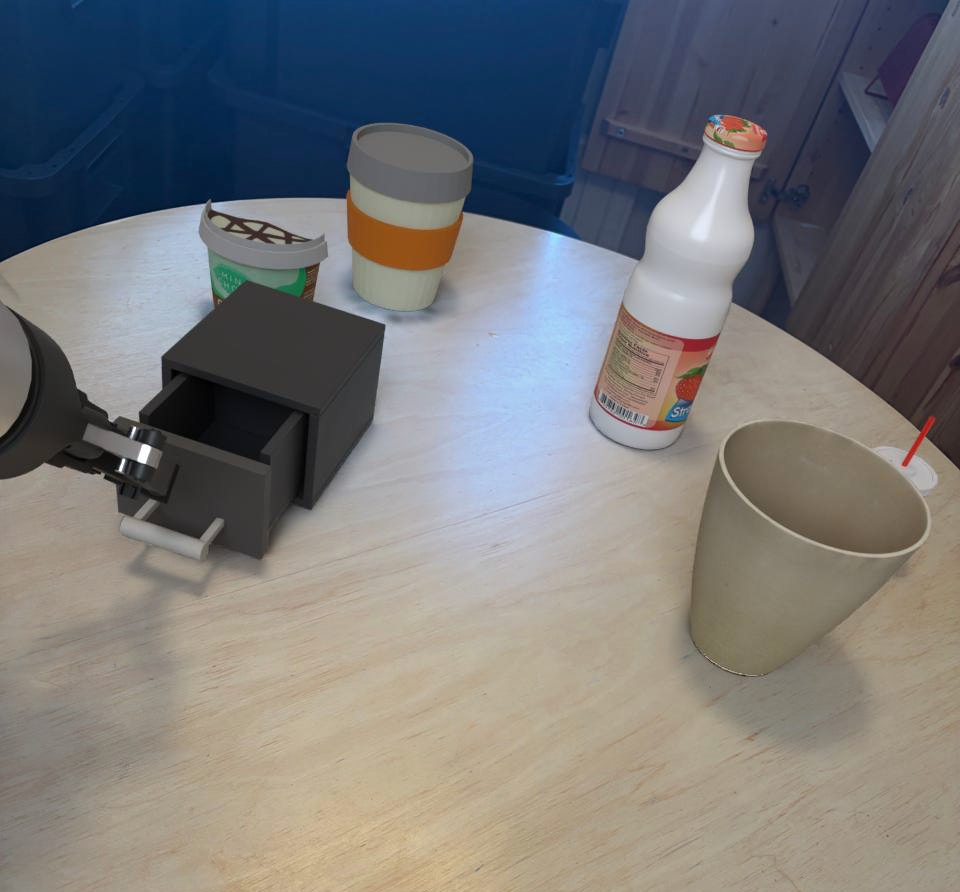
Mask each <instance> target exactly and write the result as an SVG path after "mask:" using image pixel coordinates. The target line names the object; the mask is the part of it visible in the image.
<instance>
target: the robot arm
mask: <svg viewBox="0 0 960 892" xmlns="http://www.w3.org/2000/svg"><path fill="white" fill-rule="evenodd" d="M117 426H118V424H116V423H115V424H114V423H113V421H110V419H109V413H108V411H106V410H105V409H103V408H102V407H100V406H98V405H96V404H95V403H93V402H92V401H90V400H89V397H88V394H87V393H86V392H85V391H83V390H81V389H80V388H78V386H77V382H76V379H75V375H74V371H73V368H72V366H71V363H70V360H69V359H68V357H67V355H66V354H65V352H64V351H63V349H62V347H61V346H60V345H59V344H58V343H57V341H55V340H54V338H52V337H51V336H50V335H49V334H48V333H47V332H46V331H44V330H43V329H42V328H40V327H38V325H35V324H34V323H33V322H32V321H30V320H28V319H27V318H25V317H24V316H23V315H21V314H20V313H18V312H17V311H15V310H14V309H12V308H11V307H10V306H9V305H6V304H5V303H4V302H3V301H2V299H0V481H3V480H10V479H14V478H18V477H21V476H24V475H27V474H29V473H31V472H33V471H35V470H36V469H38V468H39V467H41V466H43V464H46V465H49V466H52V467H56V468H58V469H63V468H66V469H67V468H68V469H70V470H74V471H76V472H80V473H82V474H89V475H90V476H91V475H92V476H94V475H99V476H101V475H102V474H103V477H102V478H103V480H105V481H108V482H110V483H112V484H114V485H115V486H116V485H119V486H120V488H119V491H118V494H119V495H122V496H125V497H128V498H131V499H134V500H138V497H139V495H142V496H144V497H146V498H149V499H152V500H155V501H158V502H161V503H164V504H167V503H168V500H169V497H170V494H171V491H172V488H173V485H174V482H175V479H176V477H177V474H178V471H179V468H180V465H178V464H176V463H177V460H178V457H179V456H178V455H177V454H176V453H175V452H174V451H173V450H172V449H171V448H170V447H169V446H168V445H167V444H166V441H167V438H168V437H166V436H164V435H163V434H161V433H162V432H161V431H159V430H156V429H153V428H152V429H150V430H149V429H145V428H143V429H140V428H137V427H135V426H130V427H129V430H128V433H127V434H126V433H124V432H123V431H121V430H119V429H117Z"/></svg>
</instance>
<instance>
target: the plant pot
mask: <svg viewBox="0 0 960 892" xmlns="http://www.w3.org/2000/svg"><path fill="white" fill-rule="evenodd" d="M932 525H933V519H932V514H931V510H930V507H929V505H928V503H927V500H926V498H925V496H924V497H923V495H922V494H921V492H920V491H919V489H918V488H917V487H916V485H915V484H914V483H913V482H912V481H911V480H910V479H909V478H908V476H907V475H906V474H904V473H903V472H902V471H901V470H900V469H899V468H898V467H897V466H895V465H894V464H893V463H892V462H890V461H889V460H888V459H886V458H885V457H883V456H882V455H881V454H879V453H878V452H876V451H874V450H873V448H871V447H869V446H868V445H866V444H864V443H862V442H861V441H858V440H857V439H855V438H852V437H851V436H848V435H846V434H844V433H841V432H840V431H837V430H834V429H831V428H829V427H826V426H823V425H820V424H816V423H812V422H808V421H804V420H798V419H791V418H789V419H788V418H782V417H781V418H778V417H777V418H776V417H775V418H773V417H770V418H768V417H767V418H758V419H752V420H748V421H746V422H742V423H740V424H739V425H735V426H734V427H733V428H731V429H730V430H728V432H727V433H726V434H725V435H724V436H723V438H722V440H721V442H720V444H719V448H718V450H717V455H716V458H715V462H714V465H713V468H712V472H711V476H710V480H709V483H708V487H707V489H706V495H705V499H704V502H703V507H702V511H701V516H700V520H699V527H698V531H697V538H696V544H695V549H694V550H695V551H694V557H693V566H692V574H691V590H690V592H691V593H690V617H689V618H690V636H691V635H692V636H691V638H693V639H692V641H693V640H694V642H695V644H696V645H697V647H698V648H699V650H701V651H702V653H703V654H705V656H707V657H708V658H709V659H710V660H712V661H713V662H715V663H717V664H718V665H720V666H721V667H724V668H726V669H728V670H731V671H734V672H737V673H742V674H747V675H761V674H766V673H768V674H770V673H772V672H774V671H775V670H777V669H779V668H780V667H782V666H783V665H785V664H787V663H788V662H790V661H792V660H793V659H795V658H796V657H797V656H799V655H800V654H802V653H803V652H806V651H807V650H808V649H809V648H811V647H812V646H814V645H815V644H816V643H818V642H819V641H820V640H822V639H823V638H825V637H826V636H827V635H828V634H830V633H831V632H832V631H834V630H835V629H836V628H837V627H839V626H840V625H841V624H842V623H844V622H845V621H846V620H847V619H848V618H849V617H851V616H852V615H853V614H854V613H856V611H857V610H859V609H860V608H862V606H863V605H865V603H867V602H868V601H869V600H870V599H871V598H872V597H873V596H874V595H875V594H877V592H879V591H880V590H881V588H883V586H885V585H886V584H887V583H888V582H889V580H891V579H892V577H894V575H895V574H896V573H897V572H898V571H900V569H901V568H902V567H903V566H904V565H905V564H906V563H907V562H908V561H909V560H910V559H911V558H912V557H913V556H914V555H915V553H916V552H917V551H919V550H920V548H921V547H922V546H923V545H924V544H925V542H926V541H927V540H928V538H929V536H930V534H931V532H932ZM694 642H693V643H694ZM695 644H694V645H695ZM696 645H695V646H696ZM697 647H696V648H697ZM698 648H697V649H698ZM699 650H698V651H699ZM769 672H770V673H769ZM766 675H767V674H766Z"/></svg>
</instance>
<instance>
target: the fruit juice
mask: <svg viewBox="0 0 960 892" xmlns="http://www.w3.org/2000/svg"><path fill="white" fill-rule="evenodd" d="M767 138H768V133H767V131H766V130H765V129H764V128H763V127H762V126H760V125H759V124H757V123H754V122H753V121H750V120H747V119H744V118H742V117H738V116H733V115H728V114H715V115H714V114H713V115H711V116H710V117H709V119H708V120H707V122H706V124H705V127H704V130H703V135H702V142H703V147H702V149H701V152H700V154H699V156H698V158H697V160H696V162H695V163H694V165H693V166H692V168H691V169H690V171H689V172H688V174H687V175H686V176H685V178H684V179H683V181H682V182H681V183H680V184H679V185H678V186H677V187H675V189H673V190H672V191H670V192H669V193H668V194H666V195H665V196H664V197H663V198H662V199H661V200H660V201H659V202H658V203H657V204H656V205H655V207H654V208H653V210H652V211H651V212H652V213H650V217H649V219H648V222H647V225H646V231H645V241H644V243H645V244H644V253H643V256H642V257H641V259H640V260H639V261H638V262H636V264H635V266H634V268H633V269H632V271H631V274H630V277H629V279H628V281H627V285H626V287H625V290H624V292H623V296H622V300H621V303H620V307H619V309H618V313H617V316H616V318H615V319H616V320H615V322H614V326H613V329H612V331H611V335H610V338H609V341H608V345H607V348H606V350H605V354H604V357H603V361H602V364H601V367H600V371H599V374H598V377H597V380H596V384H595V387H594V390H593V393H592V396H591V400H590V405H589V414H590V419H591V421H592V423H593V425H594V426H595V427H596V428H597V429H598V430H599V432H601V433H602V434H603V435H604V436H606V437H607V438H609V439H611V440H612V441H614V442H617V443H619V444H621V445H623V446H626V447H630V448H634V449H639V450H651V451H652V450H660V449H661V450H662V449H664V448H667V447H669V446H671V445H672V444H674V443H675V442H676V441H677V440H678V439H679V437H680V435H681V433H682V431H683V430H684V428H685V425H686V423H687V420H688V417H689V414H690V412H691V409H692V407H693V405H694V401H695V398H696V397H697V395H698V391H699V389H700V386H701V385H702V382H703V379H704V378H705V377H704V376H705V374H706V372H707V368H708V366H709V363H710V361H711V359H712V356H713V354H714V352H715V348H716V346H717V344H718V341H719V338H720V335H721V334H722V331H723V329H724V327H725V324H726V321H727V319H728V315H729V312H730V309H731V305H732V303H733V302H732V301H733V284H734V282H735V279H736V278H737V276H738V275H739V274H740V272H741V271H742V269H743V268H744V267H745V266H746V263H747V262H748V260H749V259H750V256H751V253H752V250H753V246H754V243H755V242H754V241H755V228H754V223H753V219H752V215H751V214H750V213H751V212H750V210H749V199H748V198H749V189H750V185H749V184H750V179H751V173H752V170H753V166H754V163H755V161H756V160H757V159H758V158H759V157H760V156H761V155H762V152H763V150H764V149H765V146H766V142H767Z"/></svg>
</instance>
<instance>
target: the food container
mask: <svg viewBox="0 0 960 892" xmlns="http://www.w3.org/2000/svg"><path fill="white" fill-rule="evenodd" d="M198 235H199V238H200V240H201V241H202V242H203V244H204V245H205V246H206V247H207V257H208V267H209V273H210V274H209V276H210V284H211V286H210V287H211V296H212V303H213V305H212V306H213V309H214V308H216V307H217V306H218V305H219V304H220V303H221V302H222V301H223V300H224V299H226V298H227V297H228V296H229V295H230V294H231V293H232V292H233V291H234V290H235V289H237V288H238V287H239V286H240V285H241V284H242V283H243V282H244V281H245V280H248V281H252V282H255V283H258V284H261V285H264V286H267V287H270V288H273V289H277V290H280V291H283V292H286V293H289V294H292V295H295V296H298V297H302V298H305V299H308V300H311V301H314V297H315V293H316V292H315V291H316V287H317V282H318V275H319V272H320V266H321V262H323V261H325V260H326V259H327V258H329V250H328V249H329V248H328V240H326V239H325V235H326V234H325V233H322V234H321V235H320V236H318V237H316V238H314V239H313V238H307V237H304V236H300V235H298V234H294V233H291V232H289V231H287V230H285V229H283V228H281V227H279V226H277V225H274V224H273V223H269V222H267V221H262V220H259V219H258V220H257V219H248V218H243V217H238V216H234V215H230V214H228V213H224V212H221V211H217V210H214V209H213V208H212V200H211V199H209V200H207V201H206V203H205V205H204V208H203V209H202V211H201V216H200V221H199V226H198Z"/></svg>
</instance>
